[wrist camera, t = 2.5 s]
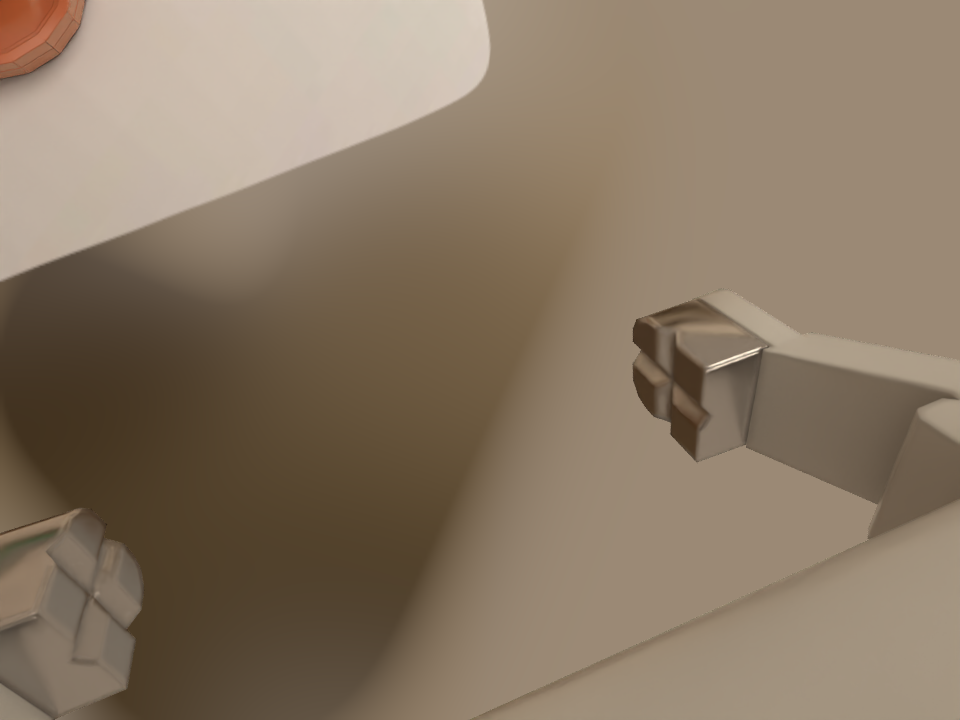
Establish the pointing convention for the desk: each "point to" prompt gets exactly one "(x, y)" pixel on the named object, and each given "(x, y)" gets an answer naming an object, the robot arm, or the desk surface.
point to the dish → (35, 32)
